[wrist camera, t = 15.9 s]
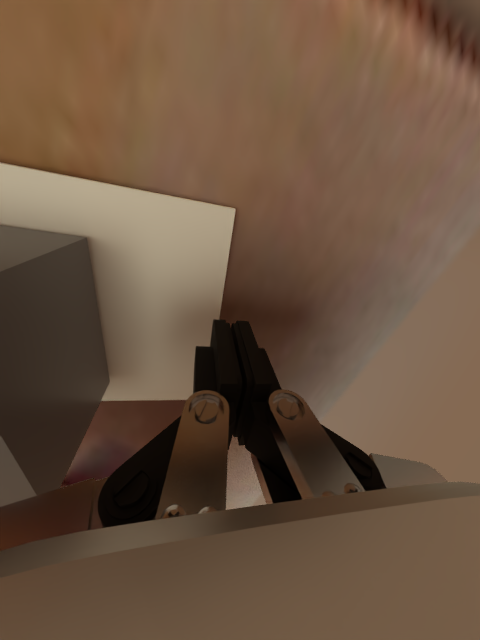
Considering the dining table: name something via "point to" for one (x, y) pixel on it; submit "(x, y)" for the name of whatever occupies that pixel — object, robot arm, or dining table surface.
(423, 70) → the dining table surface
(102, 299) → the base
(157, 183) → the dining table surface
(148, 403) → the dining table surface
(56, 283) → the cap
